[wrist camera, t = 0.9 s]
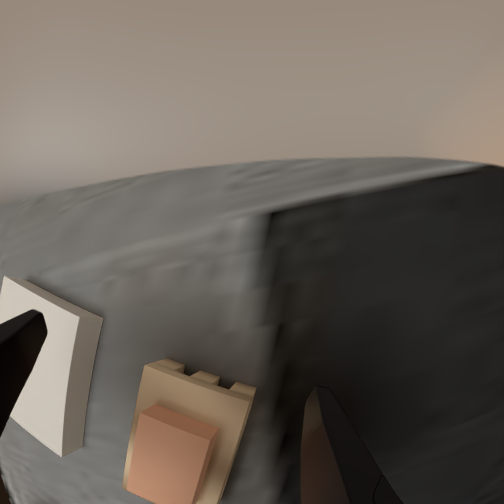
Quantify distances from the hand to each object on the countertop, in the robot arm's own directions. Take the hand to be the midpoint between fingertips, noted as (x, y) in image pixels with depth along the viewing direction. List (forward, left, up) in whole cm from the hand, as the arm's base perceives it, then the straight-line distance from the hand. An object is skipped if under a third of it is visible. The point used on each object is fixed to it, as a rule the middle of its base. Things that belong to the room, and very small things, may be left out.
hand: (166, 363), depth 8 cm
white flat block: (-8, +15, -11) cm, 20 cm away
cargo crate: (-8, +1, -8) cm, 11 cm away
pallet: (-8, +1, -11) cm, 14 cm away
